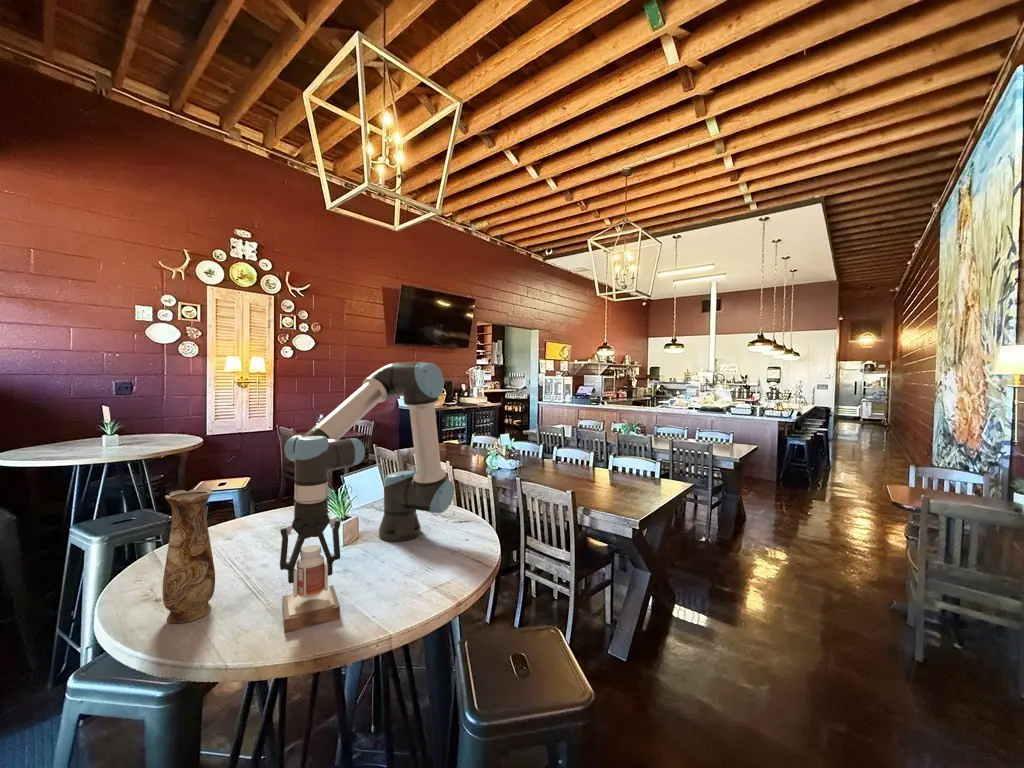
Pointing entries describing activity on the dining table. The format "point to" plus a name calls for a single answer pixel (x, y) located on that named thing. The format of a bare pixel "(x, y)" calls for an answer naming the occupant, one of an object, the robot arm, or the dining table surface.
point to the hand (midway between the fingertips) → (310, 591)
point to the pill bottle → (310, 571)
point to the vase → (188, 558)
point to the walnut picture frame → (310, 610)
